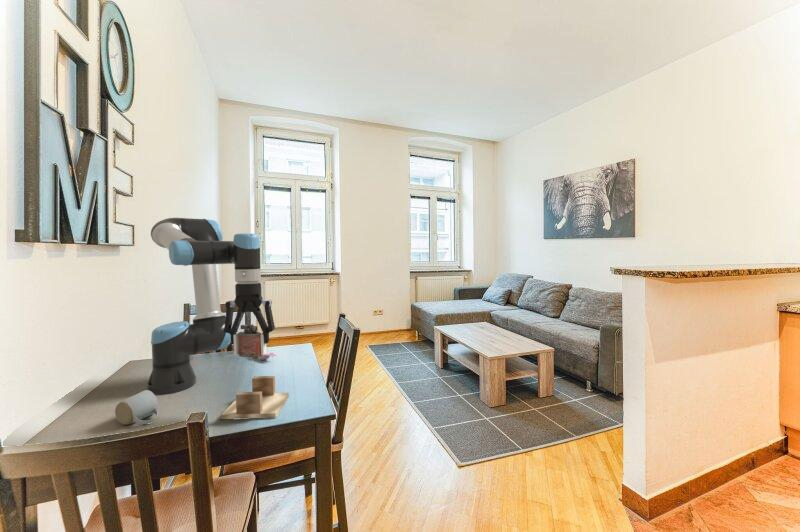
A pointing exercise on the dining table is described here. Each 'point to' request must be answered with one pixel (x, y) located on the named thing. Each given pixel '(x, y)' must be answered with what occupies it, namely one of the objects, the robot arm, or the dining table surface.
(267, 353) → the pink flower
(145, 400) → the ceramic mug
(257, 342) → the lighter
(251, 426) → the dining table surface
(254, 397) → the stand
